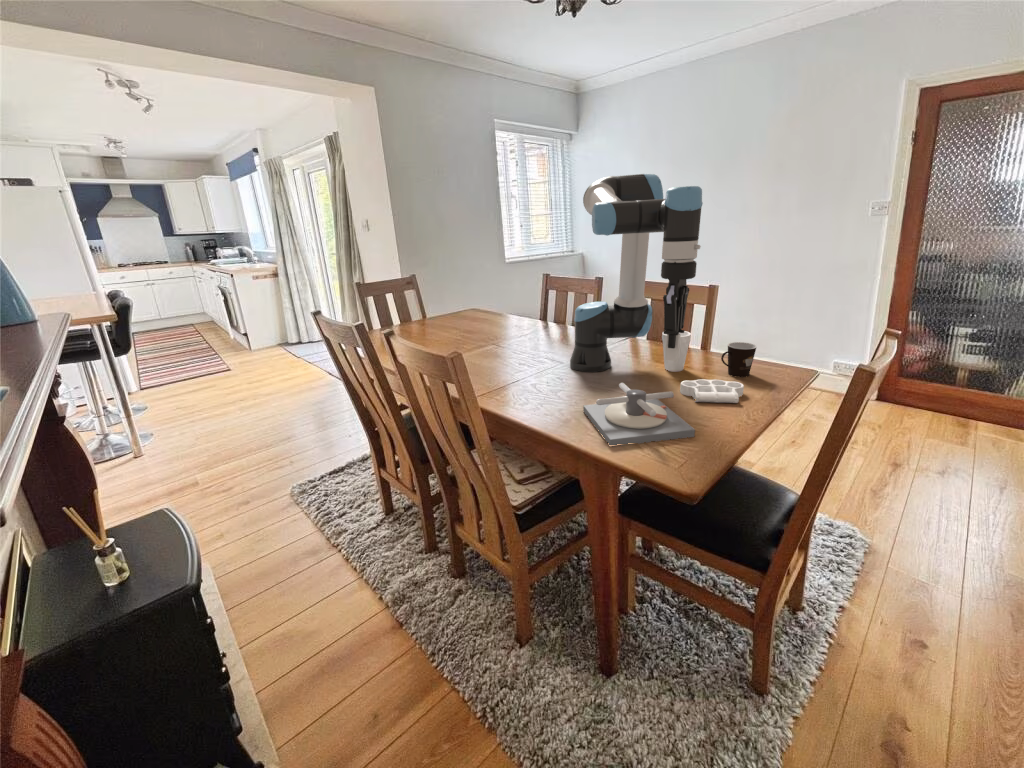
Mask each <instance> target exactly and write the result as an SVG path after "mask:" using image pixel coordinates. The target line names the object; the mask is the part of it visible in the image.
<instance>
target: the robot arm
mask: <svg viewBox="0 0 1024 768" xmlns="http://www.w3.org/2000/svg"><path fill="white" fill-rule="evenodd" d="M582 201H583V202H582V203H583V207H584V209H585V211H586V212H587V213H588V214H589V215H591V227H592V228H591V229H592V232H593V234H594V235H596V236H611V235H622V237H621V250H620V252H621V253H620V268H619V269H620V270H619V271H620V272H619V283H618V285H619V286H618V287H619V288H618V289H619V290H618V296H616V298H614V301H613V305H609V304H608V302H607V301H593V302H586V303H583V304H581V305H578V306H577V307H576V309H575V311H574V320H573V321H574V347H573V350H572V353H571V356H570V360H569V364H570V365H569V366H570V368H571V369H572V370H575V371H578V372H584V373H585V372H586V373H587V372H588V373H593V372H595V373H596V372H603V371H607V370H609V369H611V367H612V358H611V355H610V352H609V347H608V343H607V342H608V341H607V340H608V339H622V338H625V339H629V338H630V339H631V338H632V339H636V338H643V337H645V336H646V335H647V334H648V333H649V331H650V329H651V326H652V322H653V307H652V306H651V305H650V304H649V300H648V298H646V296H645V289H646V288H645V287H646V275H647V264H648V253H649V242H650V241H649V240H650V233H652V234H653V233H663V238H662V246H661V247H662V249H661V259H662V260H663V261H662V262H661V268H660V269H661V270H660V277H661V278H662V279H665V280H668V285H667V287H666V289H665V294H663V295H662V297H663V298H662V300H663V309H664V310H663V312H664V313H663V314H664V315H663V317H664V322H663V325H664V330H663V331H662V333H664V334H667V345H666V360H670V361H678V360H679V347H680V334H679V333H684V331H686V330H685V329H684V327H685V319H686V318H685V317H686V312H687V311H686V310H687V304H688V296H689V292H690V287H689V286H688V285H687V280H690V279H691V280H692V279H695V277H696V275H697V274H696V273H697V265H698V264H697V261H695V260H696V259H697V258H698V250H700V249H701V247H702V246H701V245H700V244H699V238H700V229H701V228H700V227H701V226H700V225H701V215H702V206H703V204H704V203H703V189H702V188H701V187H700V186H699V185H698V186H697V185H691V186H689V185H688V186H676V187H670V188H668V189H667V190H666V193H665V198H664V190H663V185H662V181H661V179H660V177H659V175H656V174H654V173H640V174H627V175H610V176H606V177H605V176H604V177H602V178H600V179H598V180H595V181H594V182H592V183H591V184H590V185H589V186H588V187H587V188H586V189H585V192H584V194H583V197H582Z"/></svg>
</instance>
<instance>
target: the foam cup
mask: <svg viewBox="0 0 1024 768" xmlns="http://www.w3.org/2000/svg"><path fill="white" fill-rule="evenodd" d="M679 334H680V347H679V360H678V361H670V360H666V345H667V334H664V333H663V332H662V335H661V341H662V348H663V349H662V350H663V351H662V352H663V363H664V366H663V367H664V370H665V369H666V370H665V371H667V370H668V371H667V372H672V373H673V372H675V373H676V372H681V371H684V369H685V368H684V367H685V365H686V363H685V362H686V359H687V355H688V351H689V345H690V342H691V337H692V333H691V332H689V331H686V330H685V331H684V333H679Z"/></svg>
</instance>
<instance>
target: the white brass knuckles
mask: <svg viewBox="0 0 1024 768" xmlns="http://www.w3.org/2000/svg"><path fill="white" fill-rule="evenodd" d="M679 387H680V389H679V393H680V394H681V395H683V396H687V397H691V396H692V397H691V398H693V400H694V399H696V401H694V402H695V403H716V404H717V403H719V404H723V403H726V404H738V403H739V401H740V398H741V397H743V396H744V388H745V385H744V384H743V383H741V382H738V381H734V380H733V381H731V380H730V381H727V380H722V379H704V378H701V379H700V378H699V379H694V380H688V379H687V380H686V379H685V380H683V381H681V382H680V386H679ZM742 395H743V396H742ZM740 396H741V397H740Z"/></svg>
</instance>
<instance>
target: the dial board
mask: <svg viewBox="0 0 1024 768" xmlns="http://www.w3.org/2000/svg"><path fill="white" fill-rule="evenodd" d="M646 402H648V403H652V404H655V405H658V406H660V407H662V408H663V409H664V410H665V411H666V413H667V419H666V421H665V422H664V423H663V424H661V425H659V426H656V427H652V428H644V429H635V428H627V427H622V426H618V425H616V424H613V423H611V422H610V421H608V420H607V419H606V417H605V409H606V407H608V406H609V405H611V404H607V405H597V404H596V403H594V404H593V403H592V404H584V405H582V406H583V410H582V411H584V412H585V413H584V412H583V413H584V415H585V414H586V415H587V416H588V417H587V416H586V415H585V416H586V417H587V419H588V418H589V419H590V420H591V421H590V420H589V419H588V420H589V421H590V423H591V422H592V423H593V424H594V425H595V426H594V425H593V424H592V423H591V424H592V425H593V426H594V428H595V427H596V428H597V429H598V430H599V432H600V433H601V434H602V435H603V437H604V438H605V440H606V441H607V442H608V443H609V445H617V444H628V443H638V444H645V443H644V442H646V443H652V442H651V441H655V442H660V441H661V440H663V441H670V439H671V440H679V439H678V438H680V439H686V438H687V437H688V438H694V437H695V433H696V429H695V428H694V427H693V426H691V425H690V424H689V423H688V422H687V421H685V420H684V419H683V418H682V417H680V416H679V415H678V414H677V413H675V411H673V410H672V409H671V408H669V407H668V406H667V405H665V403H664V402H662V401H661V400H660V399H653V400H646ZM596 428H595V429H596ZM597 429H596V430H597ZM598 430H597V431H598ZM599 432H598V433H599ZM600 433H599V434H600ZM601 434H600V435H601ZM603 437H602V438H603ZM604 438H603V439H604ZM605 440H604V441H605ZM606 441H605V442H606ZM607 442H606V443H607ZM661 442H662V441H661ZM609 445H608V446H609Z"/></svg>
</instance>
